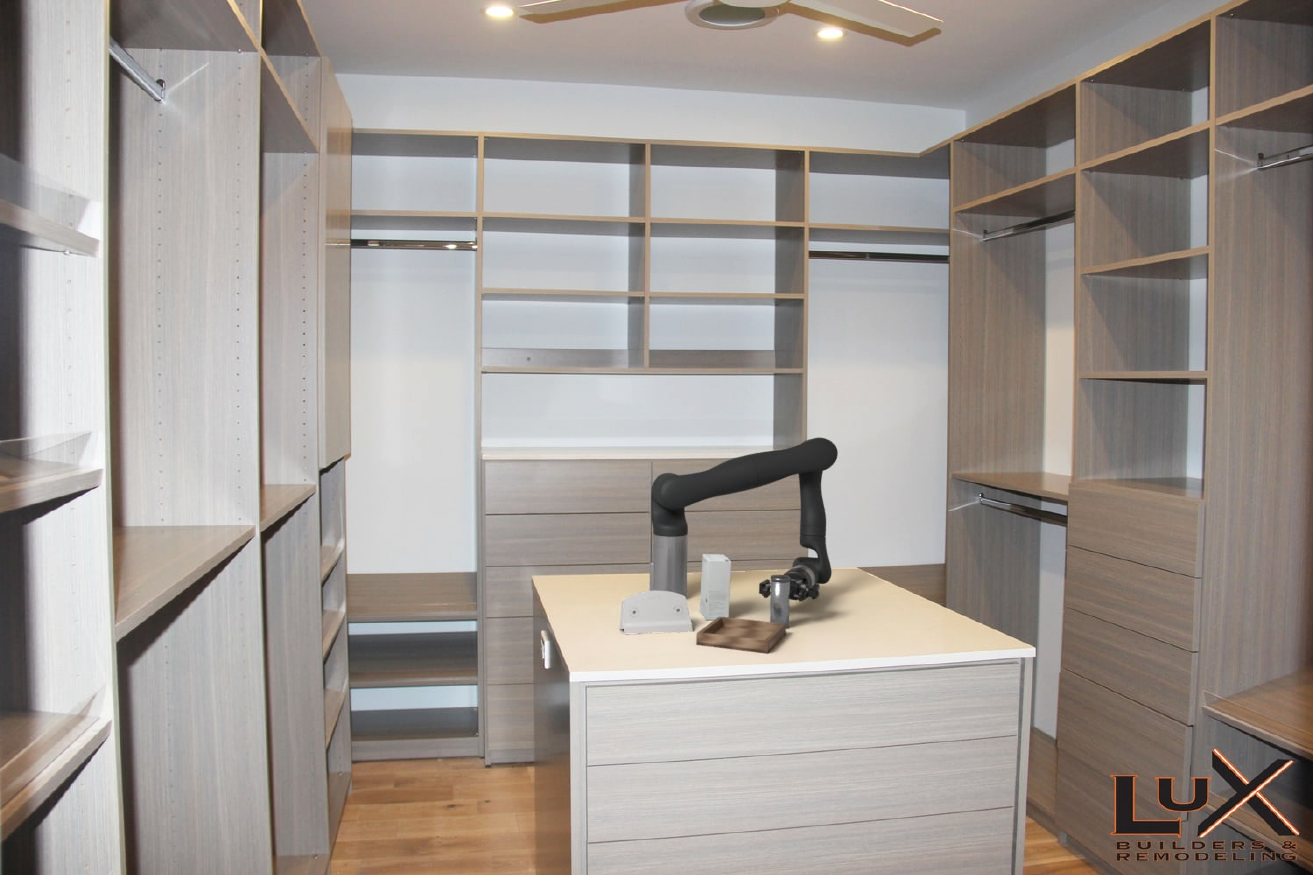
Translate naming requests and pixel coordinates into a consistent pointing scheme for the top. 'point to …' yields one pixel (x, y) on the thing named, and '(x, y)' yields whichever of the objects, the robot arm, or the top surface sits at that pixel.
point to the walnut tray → (741, 634)
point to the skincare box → (715, 586)
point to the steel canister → (780, 599)
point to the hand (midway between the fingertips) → (782, 595)
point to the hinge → (655, 613)
